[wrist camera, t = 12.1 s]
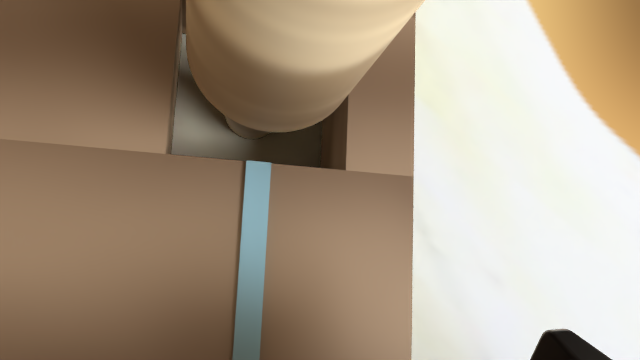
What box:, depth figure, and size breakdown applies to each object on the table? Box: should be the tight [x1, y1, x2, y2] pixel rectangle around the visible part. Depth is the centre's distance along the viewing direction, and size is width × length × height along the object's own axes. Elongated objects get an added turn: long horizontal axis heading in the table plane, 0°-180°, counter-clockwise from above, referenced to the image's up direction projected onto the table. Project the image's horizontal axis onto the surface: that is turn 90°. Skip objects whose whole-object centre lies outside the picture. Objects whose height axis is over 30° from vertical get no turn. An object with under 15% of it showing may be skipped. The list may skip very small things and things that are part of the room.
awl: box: [186, 0, 425, 139], centre depth 12 cm, size 4×4×12 cm
